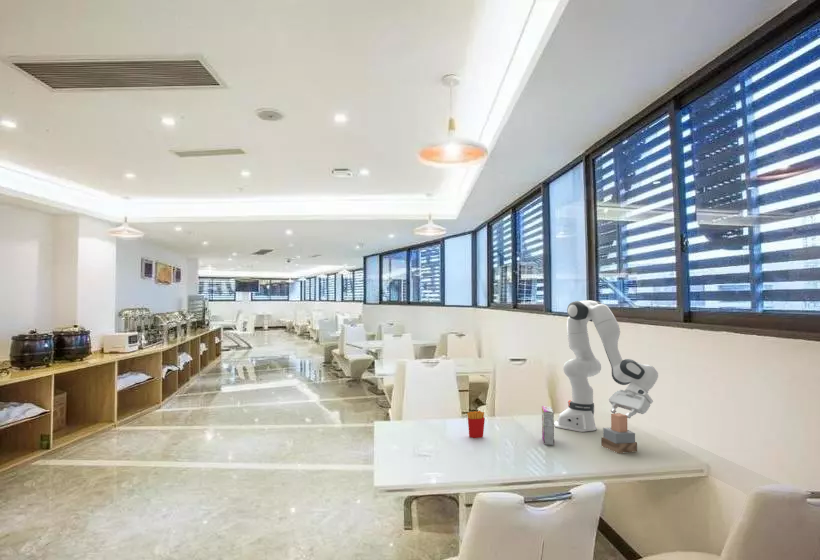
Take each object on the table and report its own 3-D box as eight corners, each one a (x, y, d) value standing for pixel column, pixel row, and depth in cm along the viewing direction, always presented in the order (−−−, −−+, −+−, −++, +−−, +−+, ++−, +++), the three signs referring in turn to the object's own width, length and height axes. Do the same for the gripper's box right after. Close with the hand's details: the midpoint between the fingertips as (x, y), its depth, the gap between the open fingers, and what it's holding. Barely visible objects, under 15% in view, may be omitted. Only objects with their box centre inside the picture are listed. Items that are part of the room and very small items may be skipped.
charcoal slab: (615, 443, 206) (615, 433, 206) (603, 437, 216) (603, 427, 216) (635, 442, 208) (635, 433, 208) (621, 436, 218) (621, 427, 218)
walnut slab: (618, 454, 205) (618, 444, 205) (601, 446, 215) (601, 437, 215) (637, 452, 208) (637, 442, 208) (619, 444, 219) (619, 435, 219)
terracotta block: (619, 432, 209) (619, 416, 209) (611, 429, 214) (611, 413, 214) (627, 431, 211) (627, 415, 211) (619, 428, 215) (619, 413, 216)
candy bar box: (541, 438, 227) (541, 405, 228) (551, 438, 226) (551, 406, 227) (543, 444, 216) (543, 411, 217) (554, 445, 215) (554, 411, 216)
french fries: (482, 434, 231) (482, 409, 231) (485, 437, 227) (485, 411, 227) (465, 435, 229) (466, 410, 229) (468, 438, 224) (469, 412, 225)
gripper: (615, 385, 226) (600, 405, 222) (648, 393, 206) (632, 415, 203) (622, 393, 227) (607, 413, 223) (656, 402, 208) (640, 424, 204)
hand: (619, 414), depth 213 cm, fingers open, 8 cm apart
